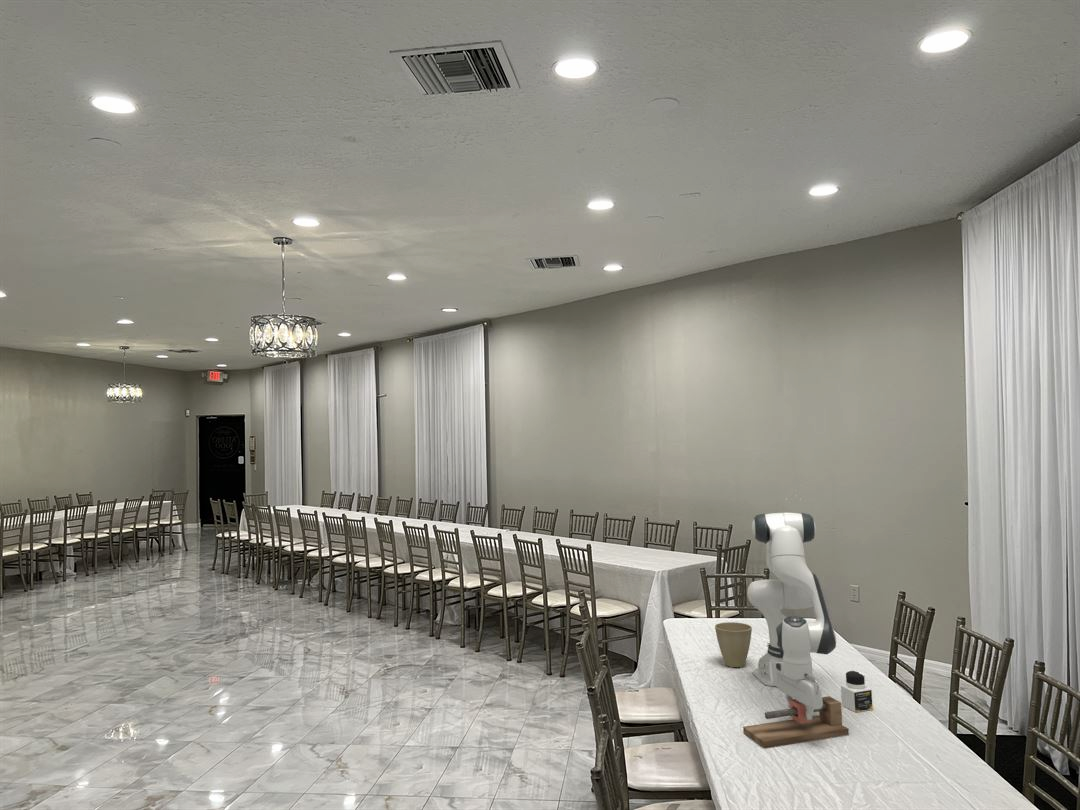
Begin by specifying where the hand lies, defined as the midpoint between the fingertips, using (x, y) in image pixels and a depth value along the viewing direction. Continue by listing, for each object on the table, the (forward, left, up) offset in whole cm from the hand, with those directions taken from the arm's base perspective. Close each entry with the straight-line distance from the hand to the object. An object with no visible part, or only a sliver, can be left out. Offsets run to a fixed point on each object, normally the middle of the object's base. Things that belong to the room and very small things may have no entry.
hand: (800, 713), depth 228 cm
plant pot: (-67, +14, -6) cm, 69 cm away
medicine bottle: (-12, +30, -6) cm, 33 cm away
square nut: (0, 0, -2) cm, 2 cm away
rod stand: (0, -2, -6) cm, 6 cm away
